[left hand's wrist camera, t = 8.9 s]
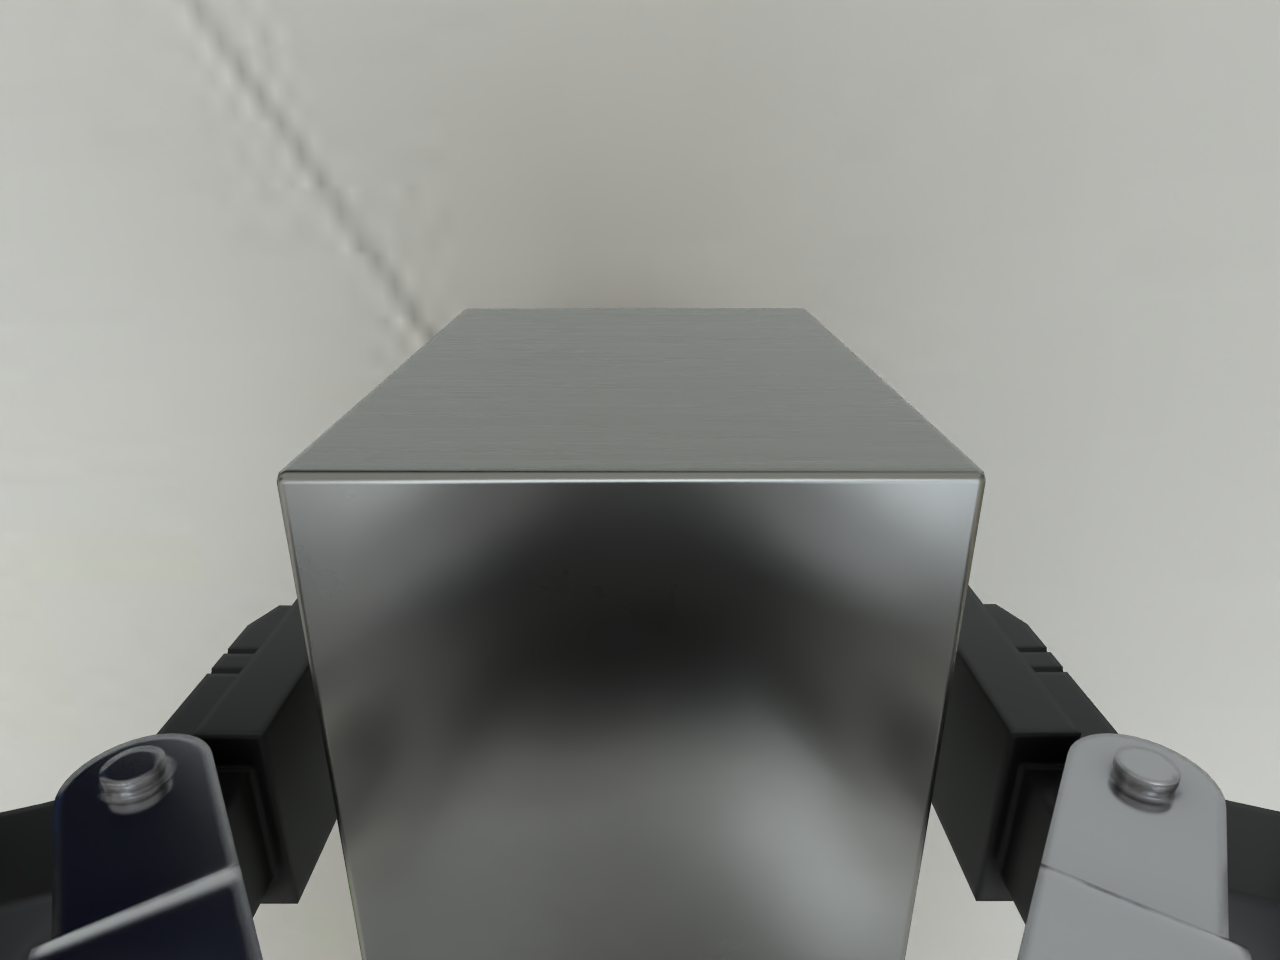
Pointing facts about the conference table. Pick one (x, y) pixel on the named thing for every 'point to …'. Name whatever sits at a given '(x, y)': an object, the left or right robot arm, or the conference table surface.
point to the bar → (632, 638)
